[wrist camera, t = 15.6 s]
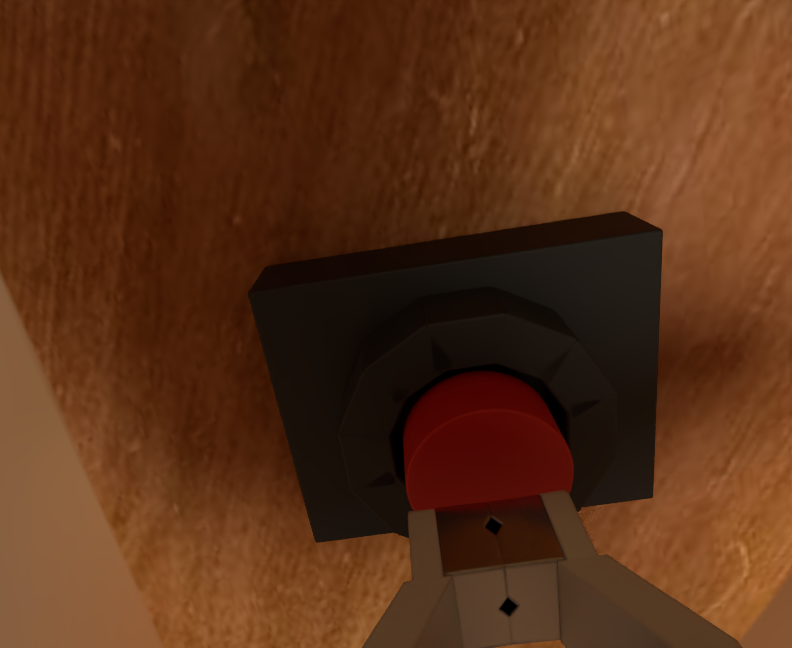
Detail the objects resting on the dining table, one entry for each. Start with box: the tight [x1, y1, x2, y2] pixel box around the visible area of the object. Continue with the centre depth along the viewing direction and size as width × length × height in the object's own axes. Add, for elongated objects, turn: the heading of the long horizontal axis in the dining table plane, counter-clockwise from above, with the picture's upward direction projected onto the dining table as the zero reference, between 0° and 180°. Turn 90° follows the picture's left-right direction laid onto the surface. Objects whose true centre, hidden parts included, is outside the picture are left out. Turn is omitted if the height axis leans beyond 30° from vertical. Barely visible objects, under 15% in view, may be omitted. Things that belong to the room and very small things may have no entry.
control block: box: [248, 212, 663, 543], centre depth 15 cm, size 10×8×4 cm
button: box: [403, 371, 574, 520], centre depth 13 cm, size 4×4×2 cm
